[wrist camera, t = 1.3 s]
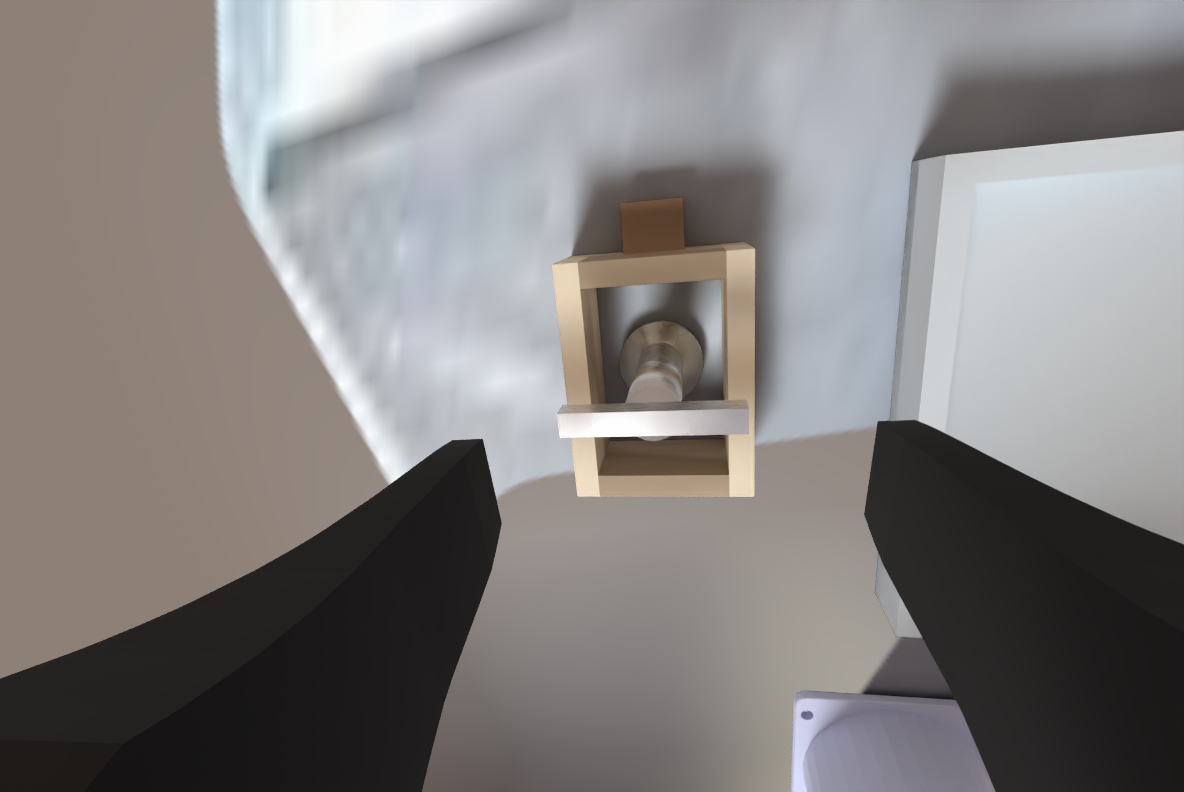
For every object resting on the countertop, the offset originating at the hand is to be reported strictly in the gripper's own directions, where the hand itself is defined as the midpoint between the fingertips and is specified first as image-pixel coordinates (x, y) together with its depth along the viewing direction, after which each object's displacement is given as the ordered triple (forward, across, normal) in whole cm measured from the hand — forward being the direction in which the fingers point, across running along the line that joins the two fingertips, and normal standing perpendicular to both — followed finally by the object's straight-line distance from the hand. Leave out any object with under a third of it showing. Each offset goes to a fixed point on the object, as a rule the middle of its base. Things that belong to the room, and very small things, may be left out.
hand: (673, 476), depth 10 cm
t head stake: (+10, 0, +2) cm, 11 cm away
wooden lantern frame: (+10, 0, +2) cm, 11 cm away
